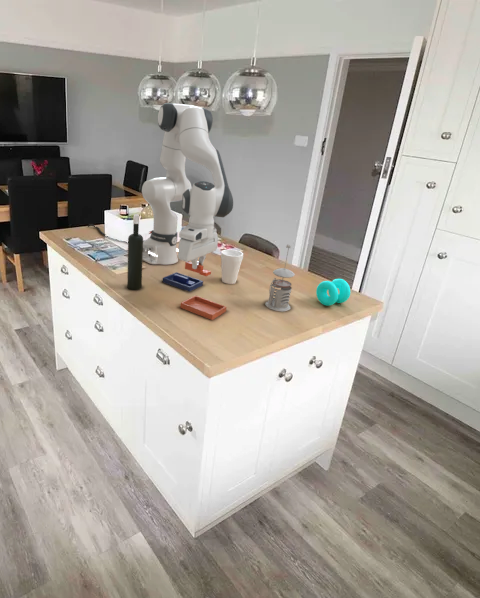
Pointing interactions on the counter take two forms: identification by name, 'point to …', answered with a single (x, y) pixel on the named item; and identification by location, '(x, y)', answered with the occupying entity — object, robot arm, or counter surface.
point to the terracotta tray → (203, 307)
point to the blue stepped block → (183, 280)
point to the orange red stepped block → (199, 270)
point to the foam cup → (230, 265)
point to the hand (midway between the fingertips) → (197, 267)
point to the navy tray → (170, 281)
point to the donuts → (333, 292)
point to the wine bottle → (135, 257)
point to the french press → (283, 294)
